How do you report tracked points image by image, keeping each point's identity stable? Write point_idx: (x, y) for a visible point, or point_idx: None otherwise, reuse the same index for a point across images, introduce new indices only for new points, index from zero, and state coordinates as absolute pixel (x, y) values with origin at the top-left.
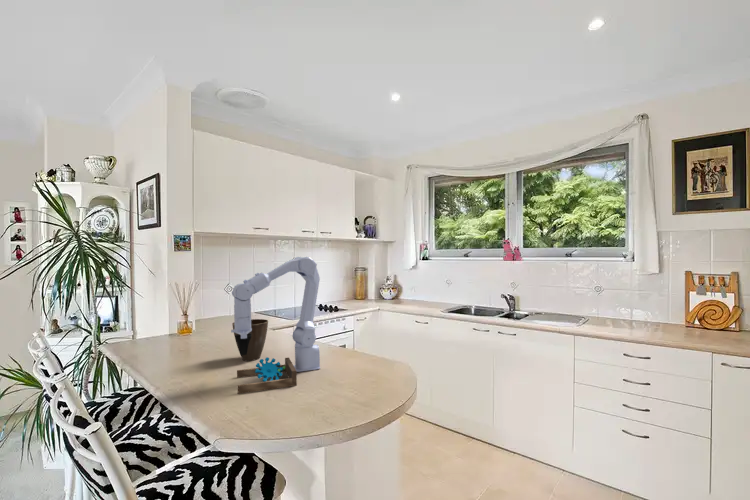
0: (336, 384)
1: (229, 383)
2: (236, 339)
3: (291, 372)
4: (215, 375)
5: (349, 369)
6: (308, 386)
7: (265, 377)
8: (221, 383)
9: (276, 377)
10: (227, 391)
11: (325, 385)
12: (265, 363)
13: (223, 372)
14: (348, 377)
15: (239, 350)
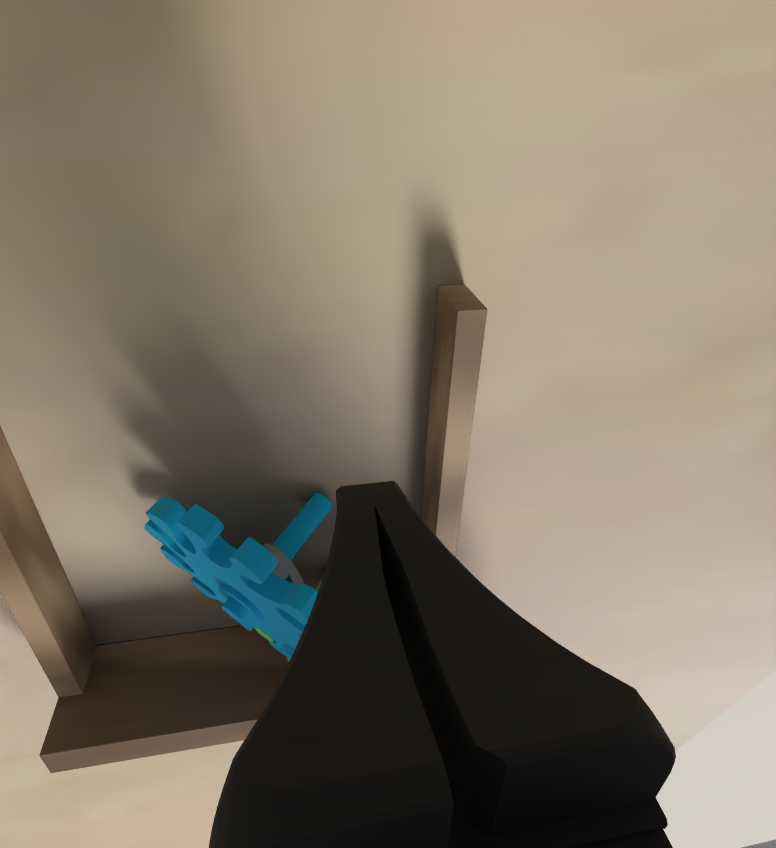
0: (63, 799)
1: (289, 213)
2: (233, 772)
3: (81, 730)
4: (660, 36)
5: None
6: (51, 712)
7: (303, 509)
8: (323, 120)
9: (207, 591)
10: (11, 197)
11: None
12: (278, 615)
13: (705, 137)
14: (169, 824)
15: (335, 536)
